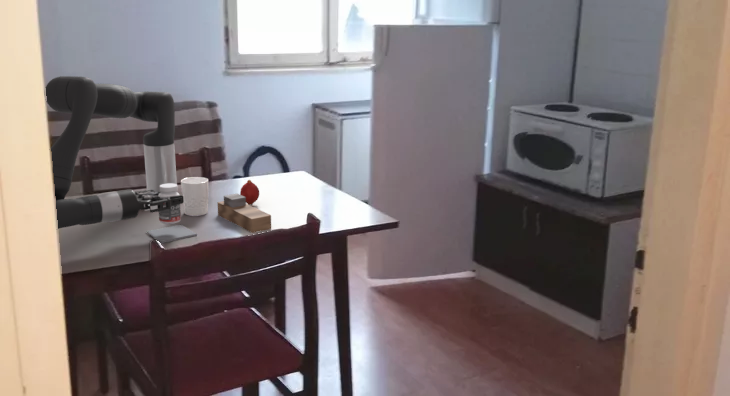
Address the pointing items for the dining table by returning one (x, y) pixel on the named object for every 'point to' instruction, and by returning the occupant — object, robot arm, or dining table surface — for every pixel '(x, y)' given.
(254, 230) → the wooden block
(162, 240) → the grey pad
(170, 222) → the pill bottle
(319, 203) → the dining table surface
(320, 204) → the dining table surface
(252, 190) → the onion
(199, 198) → the white cup
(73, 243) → the dining table surface
